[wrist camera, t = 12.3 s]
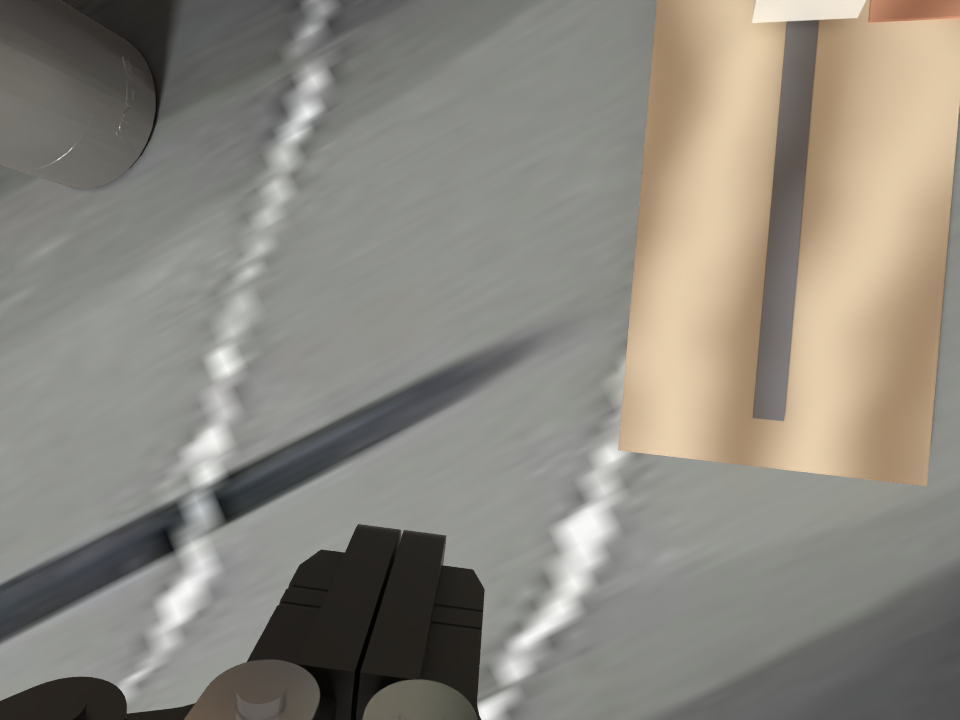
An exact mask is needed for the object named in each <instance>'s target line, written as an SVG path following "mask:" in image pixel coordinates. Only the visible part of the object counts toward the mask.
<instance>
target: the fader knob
mask: <svg viewBox="0 0 960 720" xmlns="http://www.w3.org/2000/svg"><path fill="white" fill-rule="evenodd" d="M865 2H866V0H754V3H753V15H752V23H763V22H784V21H805V20H826V19H847V18H858V16H859V14H860V12H861V10H862V8H863V6H864V4H865Z"/></svg>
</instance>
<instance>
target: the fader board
mask: <svg viewBox="0 0 960 720" xmlns="http://www.w3.org/2000/svg"><path fill="white" fill-rule="evenodd" d="M753 3H754V0H657V7H656V18H655V30H654V41H653V53H652V65H651V76H650V88H649V99H648V111H647V123H646V134H645V146H644V157H643V169H642V181H641V192H640V204H639V215H638V227H637V239H636V250H635V262H634V273H633V285H632V297H631V308H630V320H629V331H628V343H627V355H626V366H625V378H624V389H623V401H622V413H621V424H620V436H619V447H618V450H621V451H629V452H638V453H646V454H655V455H663V456H672V457H681V458H689V459H698V460H706V461H715V462H723V463H732V464H741V465H749V466H758V467H766V468H775V469H783V470H792V471H801V472H809V473H818V474H826V475H835V476H843V477H852V478H860V479H869V480H878V481H886V482H895V483H903V484H912V485H920V486H927V477H928V465H929V453H930V442H931V430H932V418H933V407H934V395H935V384H936V372H937V360H938V349H939V337H940V325H941V314H942V302H943V290H944V279H945V267H946V256H947V244H948V232H949V221H950V209H951V197H952V186H953V174H954V162H955V151H956V139H957V128H958V116H959V104H960V0H866V2H865V4H864V6H863V8H862V10H861V12H860V14H859V16H858V18H847V19H826V20H805V21H784V22H763V23H752V15H753Z"/></svg>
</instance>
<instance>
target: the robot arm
mask: <svg viewBox="0 0 960 720" xmlns="http://www.w3.org/2000/svg"><path fill="white" fill-rule="evenodd" d="M155 110H156V93H155V87H154V82H153V77H152V74H151V72H150V69H149V67H148V64H147V62H146V61H145V59H144V58H143V56H142V55H141V53H140V52H139V51H138V50H137V49H136V48H135V47H134V46H133V45H132V44H131V43H129V42H128V41H127V40H125V39H124V38H122V37H120V36H119V35H117V34H115V33H114V32H112V31H110V30H109V29H107V28H105V27H104V26H102V25H101V24H99V23H97V22H96V21H94V20H92V19H91V18H89V17H87V16H86V15H84V14H82V13H81V12H79V11H77V10H76V9H74V8H73V7H71V6H70V5H68V4H67V3H65V2H63V1H62V0H0V165H2V166H5V167H7V168H10V169H13V170H17V171H20V172H23V173H27V174H30V175H33V176H36V177H40V178H43V179H46V180H50V181H53V182H56V183H59V184H63V185H66V186H69V187H73V188H76V189H92V188H96V187H101V186H104V185H106V184H108V183H110V182H112V181H114V180H116V179H117V178H119V177H120V176H121V175H122V174H124V173H125V172H126V171H127V170H128V169H129V168H130V167H131V166H132V165H133V163H134V162H135V161H136V160H137V159H138V157H139V156H140V154H141V152H142V150H143V149H144V147H145V145H146V143H147V141H148V138H149V135H150V132H151V130H152V127H153V121H154V116H155ZM445 544H446V536H445V535H438V534H430V533H422V532H415V531H407V530H404V531H403V534H402V537H401V530H399V529H391V528H384V527H376V526H368V525H361V524H358V525H357V527H356V529H355V531H354V534H353V536H352V538H351V540H350V543H349V545H348V547H347V549H346V552H345V553H343V552H336V551H328V550H320V551H319V552H317V553H316V554H314V555H313V556H312V557H310V558H309V559H307V560H306V561H305V562H303V563H302V564H300V565H299V567H298V569H297V571H296V573H295V574H294V576H293V578H292V580H291V582H290V584H289V587H288V589H286V591H285V593H284V595H283V596H282V598H281V600H280V604H279V605H278V606H277V607H276V609H275V611H274V613H273V615H272V617H271V618H270V620H269V622H268V624H267V626H266V628H265V629H264V631H263V633H262V635H261V637H260V639H259V640H258V642H257V644H256V646H255V648H254V650H253V651H252V653H251V655H250V657H249V659H248V661H247V662H246V663H243V664H240V665H237V666H235V667H233V668H230V669H228V670H226V671H225V672H223V673H222V674H220V675H219V676H218V677H216V678H215V679H214V680H213V681H212V682H211V683H210V684H209V685H208V687H207V688H206V689H205V691H204V692H203V693H202V695H201V696H200V698H199V699H198V700H197V702H196V703H195V704H191V705H187V706H183V707H178V708H172V709H164V710H155V711H147V712H138V713H129V714H127V703H126V699H125V696H124V694H123V693H122V691H121V690H120V689H119V688H118V687H117V686H115V685H114V684H112V683H110V682H108V681H105V680H102V679H98V678H93V677H69V678H63V679H57V680H54V681H50V682H46V683H43V684H41V685H38V686H35V687H33V688H30V689H28V690H25V691H23V692H21V693H18V694H16V695H13V696H11V697H9V698H6V699H4V700H2V701H0V720H481V718H480V716H479V712H478V708H477V693H478V678H479V664H480V649H481V634H482V632H481V631H482V619H483V605H484V590H485V589H484V587H483V586H482V584H481V582H480V581H479V579H478V577H477V575H476V574H475V572H474V570H472V569H465V568H457V567H450V566H443V561H444V553H445Z"/></svg>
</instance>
